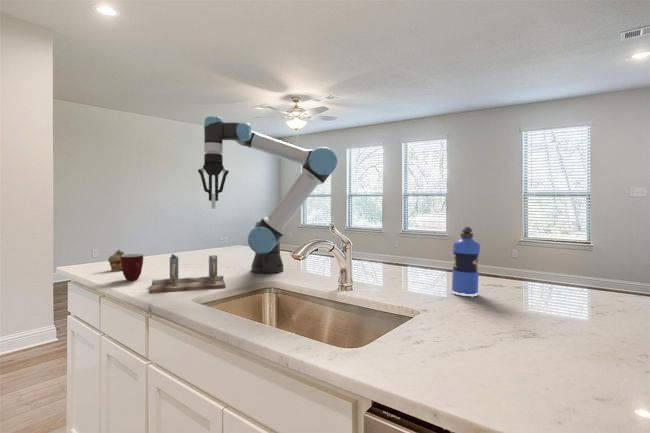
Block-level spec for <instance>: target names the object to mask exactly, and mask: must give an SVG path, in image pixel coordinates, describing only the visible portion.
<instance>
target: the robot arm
mask: <svg viewBox="0 0 650 433" xmlns="http://www.w3.org/2000/svg"><path fill="white" fill-rule="evenodd" d="M203 132H204V135H203V136H204V138H203V139H204V140H203V142H204V143H203V144H204V146H203V147H204V149H203V150H204V155H203V156H204V160H203V166H202V167H201V168H199V169H197V172H198V174H199V176H200V179H201V183H202V186H203V190H204V192H205V193H207V194H208V201H209V202H211V207H210V208H211V209H213V210H215V209H216V202H218V201H219V194H220V193H222V192H223V189H224V187H225V182H226V178H227V175H228V174H229V172H230V171H229V170H227V169H225V168H224V165H223V161H224V160H223V159H224V158H223V141H234V142H236V143H237V144H238V145H240V146H243V147H248V148H250V149H253V150H256V151H260V152H262V153H265V154H268V155H271V156H274V157H276V158H279V159H282V160H285V161H288V162H290V163H293V164H296V165H299V166H301V173H300V175H299V176H298V177H297V178H296V180H295V181H294V183H292V185H291V186H290V187H289V189H288V190H287V191H286V193H285V194H284V196H282V198H281V199H280V201H279V202H278V203H277V205H276V206H274V208H273V210H272V211H271V212H270V214H269V215H268V216H265V217H262V218H261V219H260V221H256V222H255V224H254V228H252V229H251V230H250V232H249V233H248V236H247V244H248V246H249V248H250V249H251V250H252V251H253V252H254V253H255V254H254V257H253V260H252V261H251V262H252V263H251V267H250V268H251V270H250V271H251V272H253V273H257V274H274V273H275V272H277V273H281V272H283V271H284V264H283V263H284V262H283V260H282V257H281V256H282V255H281V238H282V237H283V236H284V235H285V228H286V227H287V225H288V224H289V222H290V221H291V220H292V219H293V217H294V216H295V215H296V213H297V212H298V211H299V210H300V209H301V208H302V206H303V204H304V203H305V202H306V201H307V200H308V198H309V197H310V196H311V194H312V193H313V192H314V191H315V189H316V188H317V187H318V185H319V186H320V185H324V183H325V182H326V181H327V179H328V178H329V177H330V175H331V174H332V173H333V172H334V171H335V169H336V168H337V165H338V159H337V158H338V157H337V155H336V154H335V152H334V151H333V150H332V149H331V148H329V147H326V146H320V147H319V146H318V147H317V148H314V149H311V148H309V149H306V148H301V147H300V146H299V147H298V146H296V145H293V144H290V143H287V142H284V141H282V140H278V139H275V138H272V137H270V136H267V135H264V134H261V133H259V132H255V131H254V130H252V127H251V125H250V123H249V122H242V121H241V122H230V121H229V122H228V121H227V122H225V121H224V120H223V118H222V117H220V116H214V115H213V116H211V115H210V116H206V117H205V118H204V126H203ZM204 173H206V174H207V175H208V186H207V183H206V178H205V176H204ZM221 173H222V174H223V175H222V179H221V181H220V182H221V183H220V186H219V175H220V174H221ZM213 176H214V193H213ZM280 271H281V272H280Z"/></svg>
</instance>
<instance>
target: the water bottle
mask: <svg viewBox="0 0 650 433" xmlns="http://www.w3.org/2000/svg"><path fill="white" fill-rule="evenodd" d="M461 231H462V232H460V239H458V240H456V241H454V242H452V253H453V266H452V276H451V278H452V279H451V281H452V282H451V291H452V290H453V291H455V292H458V293H465V294H475V293H478V294H479V257H480V253H481V244H480V243H479V242H477V241H476V240H474V239H473V237H474V233H472V232H474V231H473V229H472V228H471V227H469V226H464V227H463V228H462V229H461Z"/></svg>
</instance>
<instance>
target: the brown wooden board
mask: <svg viewBox="0 0 650 433" xmlns="http://www.w3.org/2000/svg"><path fill="white" fill-rule="evenodd" d="M222 288H223V289H225V288H226V283H225V280H224V275H217V276H215V279H213V277H209V275H208V276H193V277H192V276H191V277H178V279H175V281H173V279H170V278H158V279H156V278H154V279H152V280H151V286H150V289H149V293H150V294H151V293H152V292H154V293H165V292H167V293H168V292H178V291H180V292H181V291H182V292H183V291H193V290H207V289H208V290H212V289H222Z"/></svg>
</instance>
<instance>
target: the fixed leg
mask: <svg viewBox="0 0 650 433" xmlns="http://www.w3.org/2000/svg"><path fill="white" fill-rule="evenodd" d="M208 276H209V277H213V279H215V276H218V256H217V255H216V254H214V255H208Z"/></svg>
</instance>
